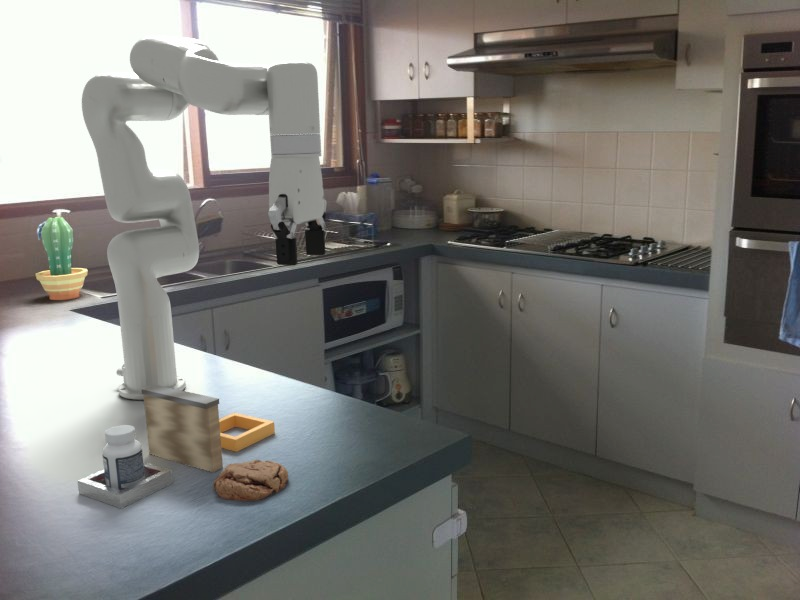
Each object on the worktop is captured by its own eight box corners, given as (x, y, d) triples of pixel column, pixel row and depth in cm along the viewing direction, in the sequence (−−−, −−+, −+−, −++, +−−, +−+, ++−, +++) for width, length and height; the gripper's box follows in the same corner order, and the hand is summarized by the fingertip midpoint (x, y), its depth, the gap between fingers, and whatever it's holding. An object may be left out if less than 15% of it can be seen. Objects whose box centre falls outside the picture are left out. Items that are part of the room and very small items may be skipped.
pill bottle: (153, 482, 115) (147, 424, 113) (131, 498, 110) (125, 438, 108) (121, 479, 117) (115, 421, 115) (99, 494, 112) (92, 435, 110)
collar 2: (196, 441, 130) (195, 429, 130) (235, 423, 137) (234, 412, 137) (236, 451, 125) (235, 439, 125) (274, 433, 133) (274, 421, 132)
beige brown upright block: (147, 454, 125) (141, 389, 123) (160, 449, 127) (154, 384, 125) (211, 473, 118) (206, 403, 115) (224, 467, 120) (219, 398, 117)
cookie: (303, 484, 114) (302, 464, 113) (243, 511, 106) (241, 490, 106) (259, 466, 121) (258, 447, 120) (200, 490, 113) (198, 470, 112)
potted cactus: (81, 290, 261) (72, 213, 256) (97, 296, 249) (89, 216, 244) (31, 297, 251) (21, 218, 246) (46, 304, 240) (36, 221, 234)
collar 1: (79, 493, 112) (77, 480, 112) (131, 470, 119) (130, 457, 119) (121, 508, 107) (119, 494, 107) (172, 483, 115) (171, 470, 114)
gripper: (299, 146, 129) (305, 250, 133) (244, 149, 113) (252, 268, 117) (342, 145, 127) (346, 251, 130) (291, 148, 111) (298, 269, 115)
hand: (302, 259), depth 124 cm, fingers open, 9 cm apart
